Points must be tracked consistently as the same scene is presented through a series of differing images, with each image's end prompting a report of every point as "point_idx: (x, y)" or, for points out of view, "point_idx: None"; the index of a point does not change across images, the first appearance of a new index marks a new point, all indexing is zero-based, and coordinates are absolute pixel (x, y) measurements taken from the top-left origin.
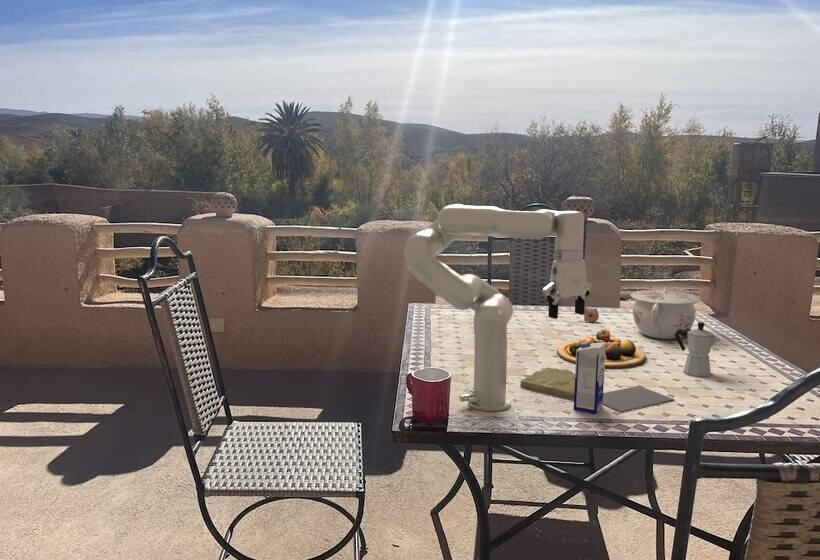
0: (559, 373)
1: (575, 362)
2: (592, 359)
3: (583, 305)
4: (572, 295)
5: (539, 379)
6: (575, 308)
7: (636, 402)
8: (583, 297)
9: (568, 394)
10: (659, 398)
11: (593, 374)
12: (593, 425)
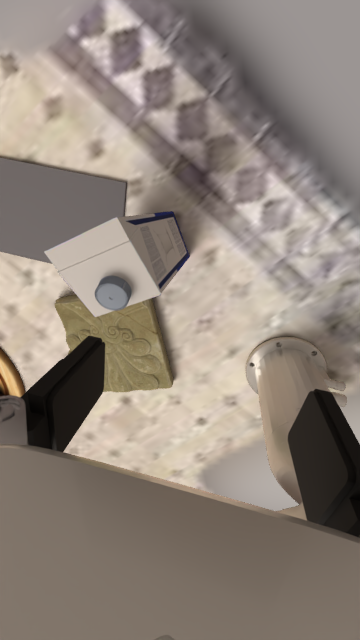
0: None
1: (20, 382)
2: (144, 238)
3: (62, 372)
4: (224, 513)
5: (146, 368)
6: (90, 406)
7: (61, 194)
8: (10, 428)
9: (149, 300)
10: (6, 177)
11: (154, 228)
12: (230, 171)
